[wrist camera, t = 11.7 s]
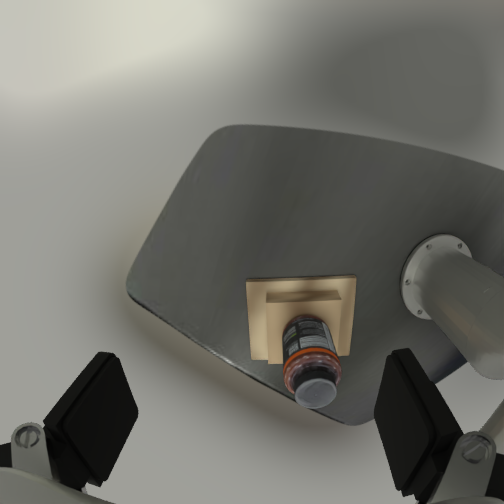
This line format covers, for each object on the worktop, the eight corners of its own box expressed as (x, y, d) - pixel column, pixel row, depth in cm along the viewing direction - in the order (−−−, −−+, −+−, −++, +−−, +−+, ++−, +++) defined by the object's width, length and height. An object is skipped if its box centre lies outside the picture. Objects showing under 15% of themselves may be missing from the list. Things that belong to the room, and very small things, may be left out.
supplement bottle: (318, 357, 37) (330, 420, 26) (275, 347, 37) (274, 410, 26) (336, 319, 35) (357, 377, 24) (291, 307, 35) (296, 365, 24)
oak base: (354, 275, 37) (362, 287, 34) (347, 351, 41) (353, 367, 37) (246, 279, 39) (243, 291, 35) (252, 355, 42) (249, 372, 38)
